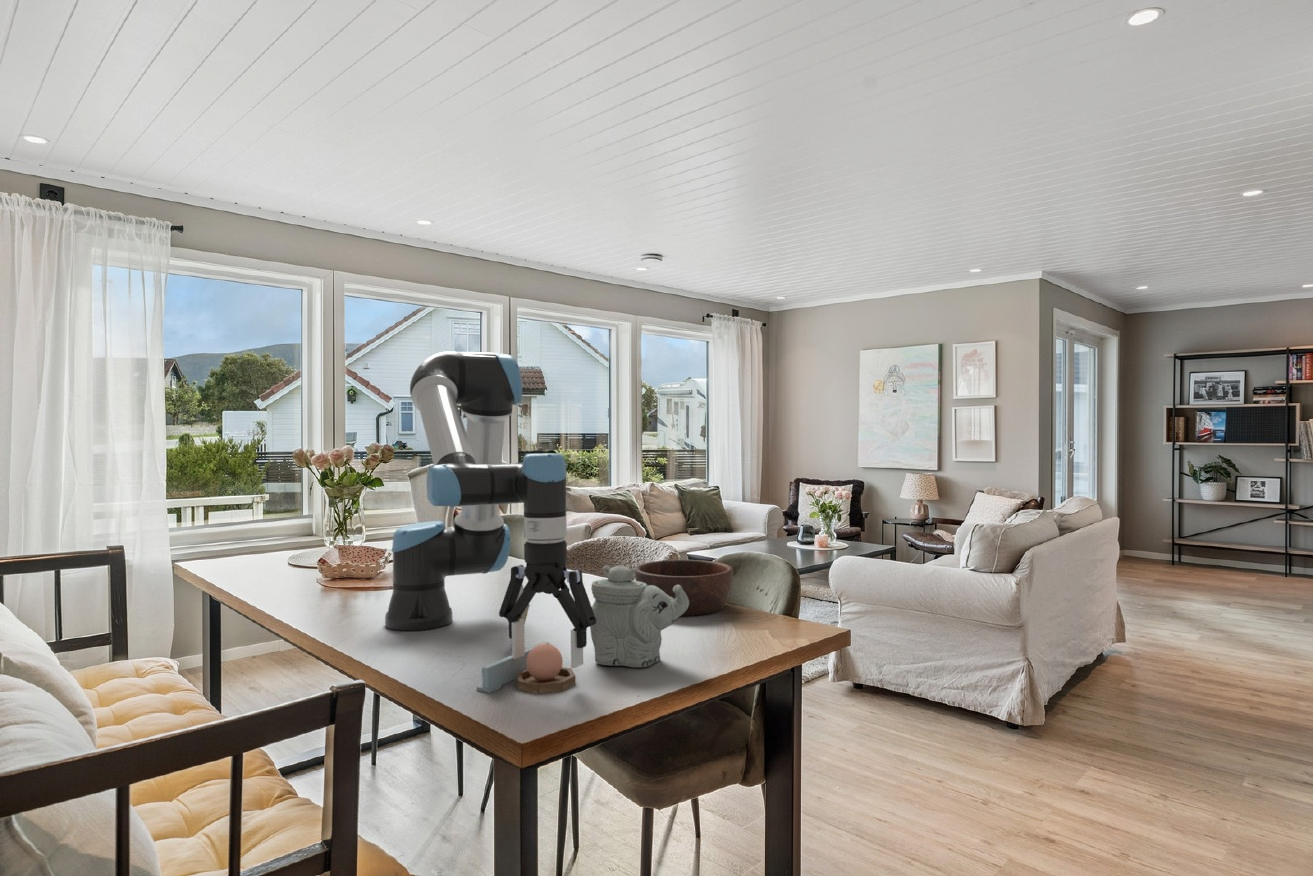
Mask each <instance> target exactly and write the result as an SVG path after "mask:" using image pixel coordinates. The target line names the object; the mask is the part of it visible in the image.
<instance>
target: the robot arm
mask: <svg viewBox="0 0 1313 876" xmlns="http://www.w3.org/2000/svg"><path fill="white" fill-rule="evenodd" d="M521 374H522V373H521V371H520V367H519V364H518V362H517V359H516V358H515V357H514V356H512V355H510V354H509V353H508V354H507V353H506V354H505V353H501V352H500V353H497V352H495V351H493V352H490V351H489V352H488V351H487V352H480V351H454V350H452V351H451V350H448V351H446V350H445V351H441V352H438V353H435V354H433V355H431V356H429V357H428V358H426V359H425V360H424V361H422V362H421V363H420V364H419V365H418V367H417V369H416V370H415V371H414V373H413V375H412V377H411V380H410V384H409V395H410V399H411V402H412V404H413V406H414V407H415V408H416V409H417V410H418V411H419V413H420V418H421V420H422V421H421V422H422V424H423V428H424V432H425V436H426V440H427V445H428V448H429V451H430V455H431V459H432V463H433V465H432V466H429V467H428V470H427V473H426V493H427V494H426V496H427V500H428V502H429V504H431V506H433V507H449V508H456V507H461V512H459V513H458V514H457V515H456V516H455V517H454V520H453V521H454V522H453V526H446V525H445V523H444V522H443V521H441V520H432V521H423V522H418V523H417V522H416V523H413V524H408V525H405V526H401V527H400V528H398V529H396V530H395V531H394V533H393V536H392V547H391V552H392V593H391V597H390V601H389V605H388V609H387V611H386V613H385V617H384V622H385V623H384V626H385V628H388V629H390V630H395V631H422V630H424V631H425V630H430V629H431V630H432V629H436V628H440V627H444V626H447V625H449V624H451V623H452V622H453V610H452V608H451V607H450V602H449V598H448V595H447V592H446V589H445V588H446V587H445V584H446V583H445V580H446V579H445V578H446V577H450V576H460V575H476V574H477V575H478V574H488V573H493V572H498V571H501V570H502V569H503V568H504V567H505V565H506V564H507V562H508V560H509V556H510V552H511V532H510V527H509V526H508V525H507V523H505V522H504V521H505V520H504V518H503V517H502V516H501V515H500V514H499V505H506V504H507V505H508V504H511V505H512V504H523V538H524V539H525V540H527V541H525V542H524V544H523V547H524V548H523V553H524V554H523V559H524V562H525V563H526V565H525V566H524V565H523V564H519V565H516V566H512V567H511V568H510V580H509V583H508V586H507V588H506V591H505V595H504V598H503V600H502V602H501V603H502V604H501V606H500V609H499V612H498V616H499V617H500V618H505V619H506V620H507V621H508V638H509V639H511V655H512V659H517V658H519V657H522V656H524V655H525V649H526V648H525V625H524V620H522V619H520V620H519V618H522V617H521V615H522V614H523V612H524V611H525V609H526V608H527V606H528V604H529V605H530V603H531V601H532V599H534V596H535V595H536V594H541V593H544V594H547V595H551V594H552V597H554V598H555V599H557V601H558V603H559V604H560V606H561V608H562V609H563V611H564V612H565V615H566V616H567V617H568V620H569V621H570V622H571V624H572V626H573V628H572V629H570V668H571V669H576V668H578V667H581V666H582V665H584V648H585V647H586V646H587V642H588V641H587V640H588V639H587V628H590V626H592V625H594V624H596V622H597V621H596V618H595V615H594V612H593V609H592V604H591V601H590V599H589V595H588V594H587V591H586V587H585V585H584V583H583V572H582V570H581V569H576V570H568V569H567V566H566V563H567V560H568V543H567V541H566V540H564V539H565V538H567V536H568V535H567V534H568V528H567V527H568V526H567V525H568V524H567V522H568V521H567V474H568V473H567V470H566V469H567V468H566V467H567V466H566V459H565V456H564V455H563V454H562V453H549V452H548V453H546V452H545V453H527V454H525V455H524V456H523V459H522V461H519V462H516V463H515V462H514V463H512V462H511V463H502V462H503V449H504V439H505V438H504V435H505V434H504V433H505V422H506V419H507V418H509V417H510V416H512V413H513V406H517V405H519V404H520V403H521V402H522V399H523V381H522V375H521ZM458 404H459V405H460V410H459V406H458ZM461 412H462V413H463V414H464V415H465V416H466V429H465V425H464V423H463V419H462V416H461ZM525 577H526V580H527V583H526V584H525V586H523V592H522V594H521V596H520V597H519V599H518V600H517V598H518V595H519V592H520V589H521V586H522V585H523V583H524V579H525ZM566 582H567V583H569V586H568V585H567V583H566ZM570 592H571V593H570ZM516 601H517V602H516Z"/></svg>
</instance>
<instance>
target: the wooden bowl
mask: <svg viewBox="0 0 1313 876" xmlns="http://www.w3.org/2000/svg"><path fill="white" fill-rule="evenodd" d="M634 568H635V569H636V571H635V573H634V577H635V581H639V582H644V583H646V585H648V586H649V585H653V586H656V587H658V588H660V589H661V590H662V591H663V592H665V593H666V594H667V595H669V596H670V597H672V598H674V599H675V598H676V594H675V593H674V592H673V587H674V586H675V585H680V586H681V587H682V589H683V591H684V592H685V593H686V595H687V597H688V599H689V606H688V608H687V610H686V611H685V612H684V613H683V614H682V615H681V616H680V617H690V616H691V617H693V616H703V615H709V614H714V613H716V612H719V611H721V610H722V609H723V608H724V607H725V606H726V604H727V602H728V599H729V597H730V595H731V594H730V593H731V590H732V583H733V576H734V569H733V567H732V566H731V565H730V564H729V565H728V564H726V563H723V562H718V561H711V560H703V559H701V560H700V559H666V560H657V561H651V562H645V563H641V564H638V565H637V566H636V567H634Z"/></svg>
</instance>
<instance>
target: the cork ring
mask: <svg viewBox="0 0 1313 876" xmlns="http://www.w3.org/2000/svg"><path fill="white" fill-rule="evenodd" d="M576 679H577V678H576V674H575V672H574V671H573V668H571V667H569V668H568V667H564V666H562V667H561V670H560V672H559V673H558V674H557V676H555V677H554V678H553V679H550V680H547V681H540V680H537V679H535V678H533V677H532V676H531V675H530V673H529V672H528V670H527V669H526V670H524V671H521V672H519V673H517V674H516V679H515V684H516V686H517V688H518V690H519V691H523V692H529V693H534V694H546V693H555V692H562V691H565V690H567V689H569V688H570V687H573V686H574V685H576V682H577V681H576Z"/></svg>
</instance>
